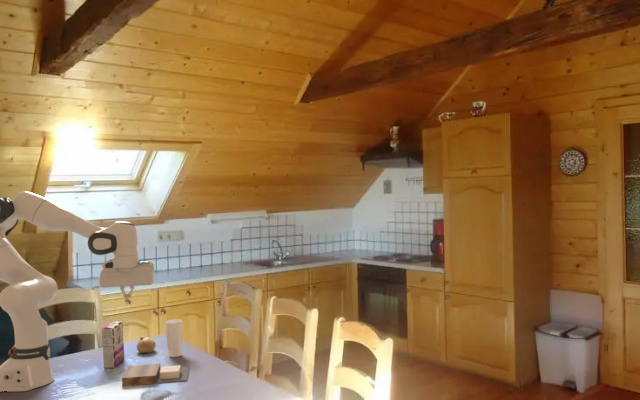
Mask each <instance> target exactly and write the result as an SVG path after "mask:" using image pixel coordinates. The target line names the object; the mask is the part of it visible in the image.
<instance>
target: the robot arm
mask: <svg viewBox="0 0 640 400" xmlns="http://www.w3.org/2000/svg"><path fill="white" fill-rule="evenodd" d="M19 220H23V221H25V222H27V223H30V224H32V225H34V226H36V227H37V228H40V229H43V230H47V231H51V232H53V231H55V232H59V231H60V232H61V231H64V232H71V233H73V234H77V235H80V236H81V237H83V238H86V239H87V248H88V249H89V251H90V252H91V253H92V254H94V255H96V256H105V255H109V254H113V255H114V257H113V258H112V259H109V260H106V261H104V262H103V263H102V265H101V267H102V270H101V271H100V274H99V286H100V287H101V288H115V287H119V289H120V291H121V292H122V295H123V296H122V297H123V298H132V296H133V294H132V293H133V291H134V289H135V287H136V286H137V287H138V286H151V285H153V284H154V282H155V276H154V271H155V265H154V263H153V262H151V261H149V260H146V261H139V252H138V248H137V247H138V232H137V228H136V225H135V224H134V223H133V222H130V221H125V220H124V221H123V220H117V221H114V223H112V224H111V225H109V226H106V227H103V226H100V225H97V224H96V223H93V222H91V221H88V220H86V219H84V218H82V217H80V216H78V215H76V214H74V213H73V212H70V211H69V210H67V209H66V208H64V207H63V206H61V205H60V204H58V203H56V202H54V201H53V200H51V199H48V198H47V197H44V196H41V195H39V194H37V193H33V192H30V191H27V190H25V191H20V192H18V193H16V194H15V196H14V197H13V198H12V199H10V197H0V281H1V282H4V283H6V284H8V286H6V287H5V288H4V289H2V290H1V291H0V307H1V309H2V310H3V311H4V312H6V313H7V314H8V315H9V317H10V320H11V323H12V326H13V331H14V333H13V334H14V345H13V346H12V347H11V348H10V349H9V351H8V356H9V358H7V360H5V361H3V363H2V364H0V392H2V391H3V392H2V393H4V391H7V392H27V391H28V392H29V391H31V390H33V389H36V388H39V387H43V386H46V385H48V384H51V383H52V382H53V381H55V377H54V374H53V370H52V365H51V360H50V357H51V345H50V342H49V333H48V331H49V329H48V327H49V326H48V322H47V321H46V320H45V319H44V318H42V316H41V313H40V309H39V307H40V306H43V305H45V304H48V303H49V302H51V301H52V300H53V299H54V298H55V297H56V296H57V293H58V292H59V291H58V290H59V287H58V283H57V282H56V280H55V279H54V278H52V277H51V276H48V275H45V274H43V273H41V272H40V271H39V270H37V269H36V268H34V267H33V266H32V265H31V264H29V263H28V262H27V261H26V260H25V259H24V258H23V257H22V256H21V254H20V253H19V252H18V251H17V249H16V248H15V247H14V246H13V244H12V243H11V242H10V240H9V239H8V238H7V236H9V234H10V233H11V232H12V231H13V230H14V229H15V228H16V227H17V225H18V224H19ZM126 287H129V289H130V291H128V292H127V291H126V290H125V288H126Z"/></svg>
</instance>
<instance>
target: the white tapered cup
mask: <svg viewBox="0 0 640 400" xmlns="http://www.w3.org/2000/svg"><path fill="white" fill-rule="evenodd" d="M165 334H166V335H165V336H166V342H167V349H168V357H170V358H179V357H180V356H182V345H183V343H182V341H183V320H182V319H180V318H179V319H178V318H175V319H174V318H173V319H168V320H166V321H165Z"/></svg>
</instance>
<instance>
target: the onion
mask: <svg viewBox="0 0 640 400" xmlns="http://www.w3.org/2000/svg"><path fill="white" fill-rule="evenodd" d="M156 345H157V343H156V341H155V340H154V339H153V338H151V337H148V336H145V335H144V336H140V338H139V339H138V341H137V344H136V350H137V351H138V352H139V353H140V354H141V353H142V354H150V353H152V352H153V351H154V350H155V348H156Z"/></svg>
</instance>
